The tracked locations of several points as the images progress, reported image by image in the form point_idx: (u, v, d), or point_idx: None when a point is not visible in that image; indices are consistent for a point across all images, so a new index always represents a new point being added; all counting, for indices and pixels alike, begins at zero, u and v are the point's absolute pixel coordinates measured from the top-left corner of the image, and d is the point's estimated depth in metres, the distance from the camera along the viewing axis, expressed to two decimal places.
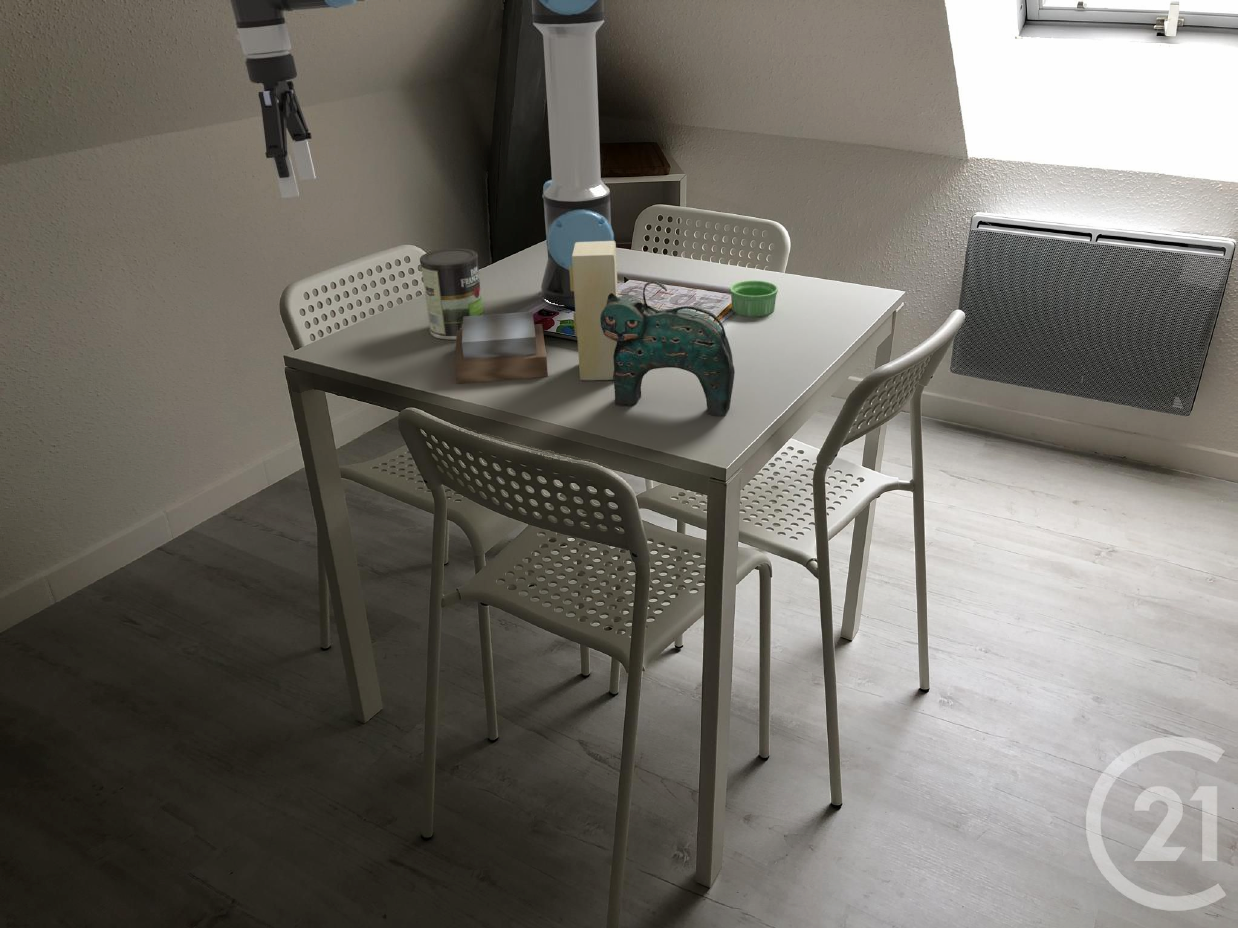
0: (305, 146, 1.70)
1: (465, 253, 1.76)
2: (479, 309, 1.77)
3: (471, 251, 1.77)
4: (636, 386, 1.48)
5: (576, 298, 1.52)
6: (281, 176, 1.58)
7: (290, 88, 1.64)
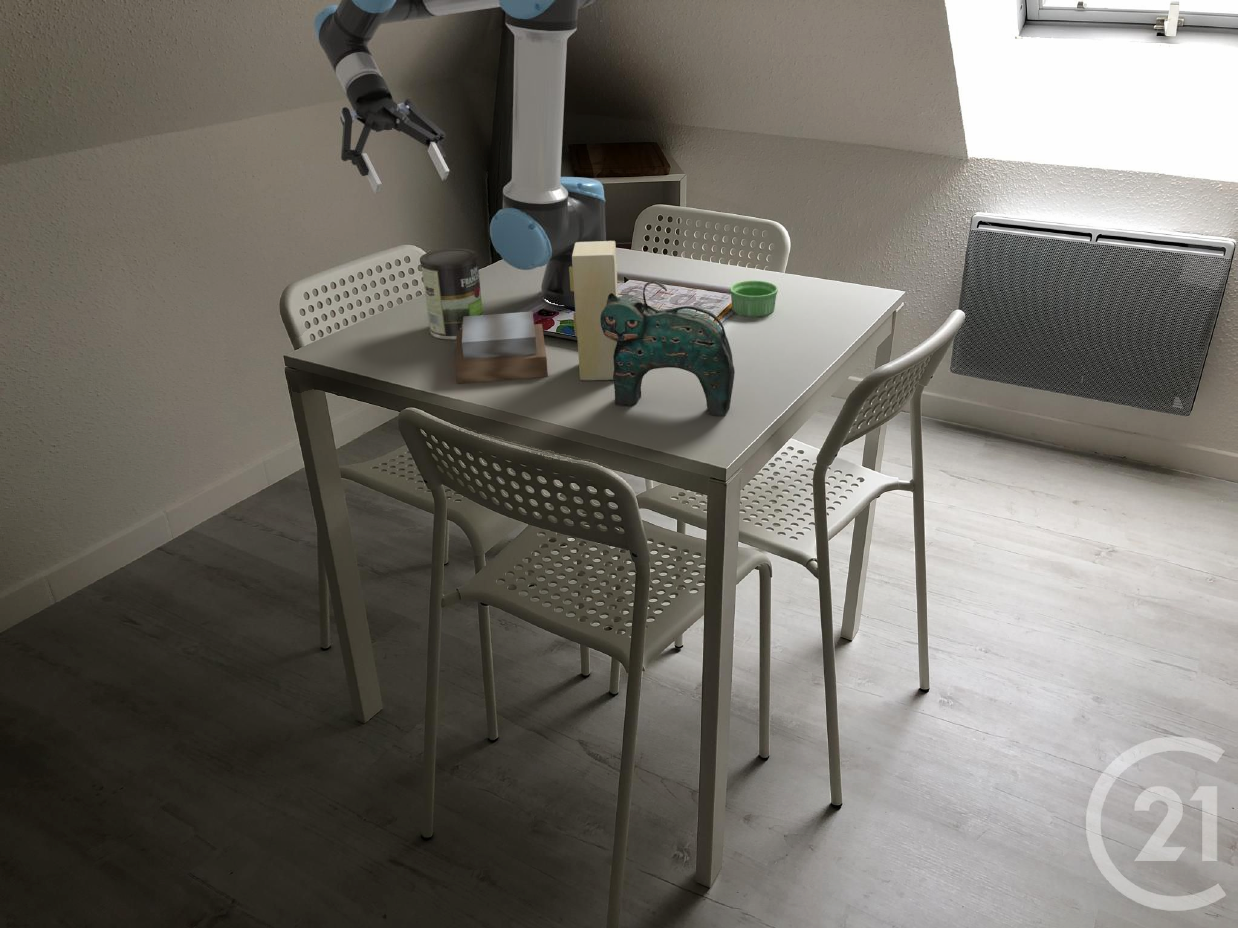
0: (432, 147, 1.79)
1: (465, 253, 1.76)
2: (479, 309, 1.77)
3: (471, 251, 1.77)
4: (636, 386, 1.48)
5: (576, 298, 1.52)
6: (361, 173, 1.73)
7: (406, 105, 1.80)
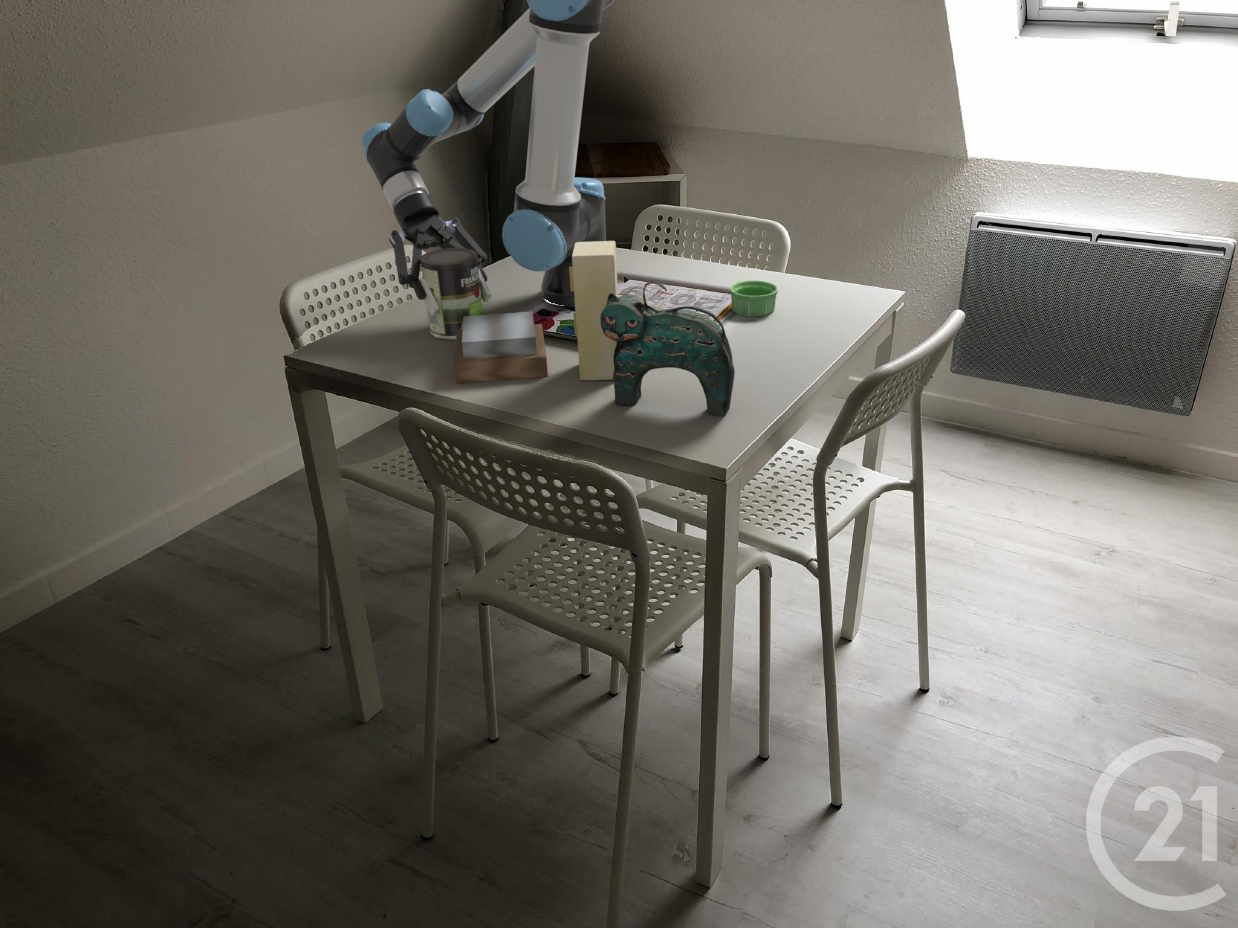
0: None
1: (465, 253, 1.76)
2: (479, 309, 1.77)
3: (471, 251, 1.76)
4: (636, 386, 1.48)
5: (576, 298, 1.52)
6: (419, 298, 1.74)
7: (453, 223, 1.81)
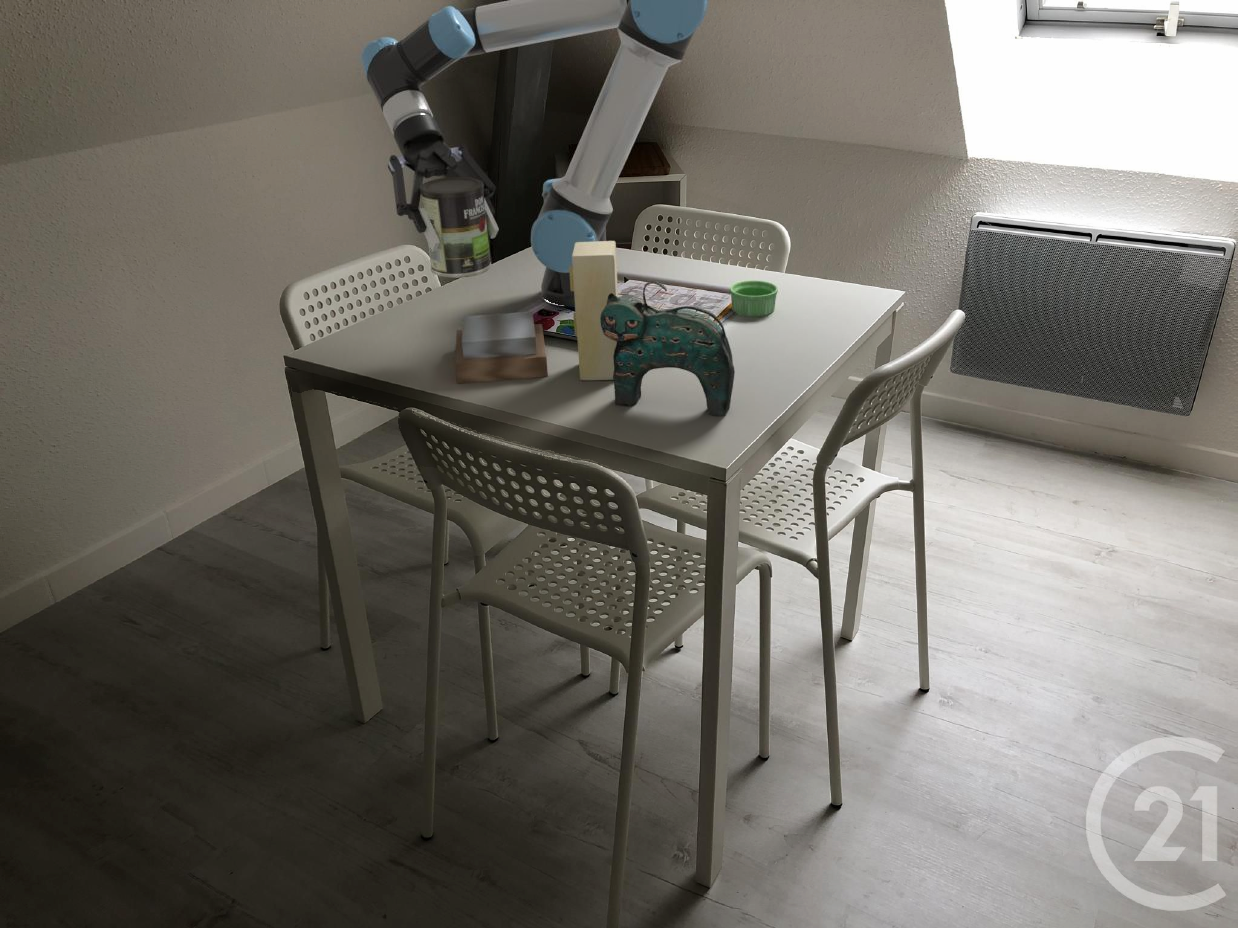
0: None
1: (470, 182, 1.59)
2: (484, 244, 1.61)
3: (477, 180, 1.60)
4: (636, 386, 1.48)
5: (576, 298, 1.52)
6: (418, 230, 1.58)
7: (459, 150, 1.64)
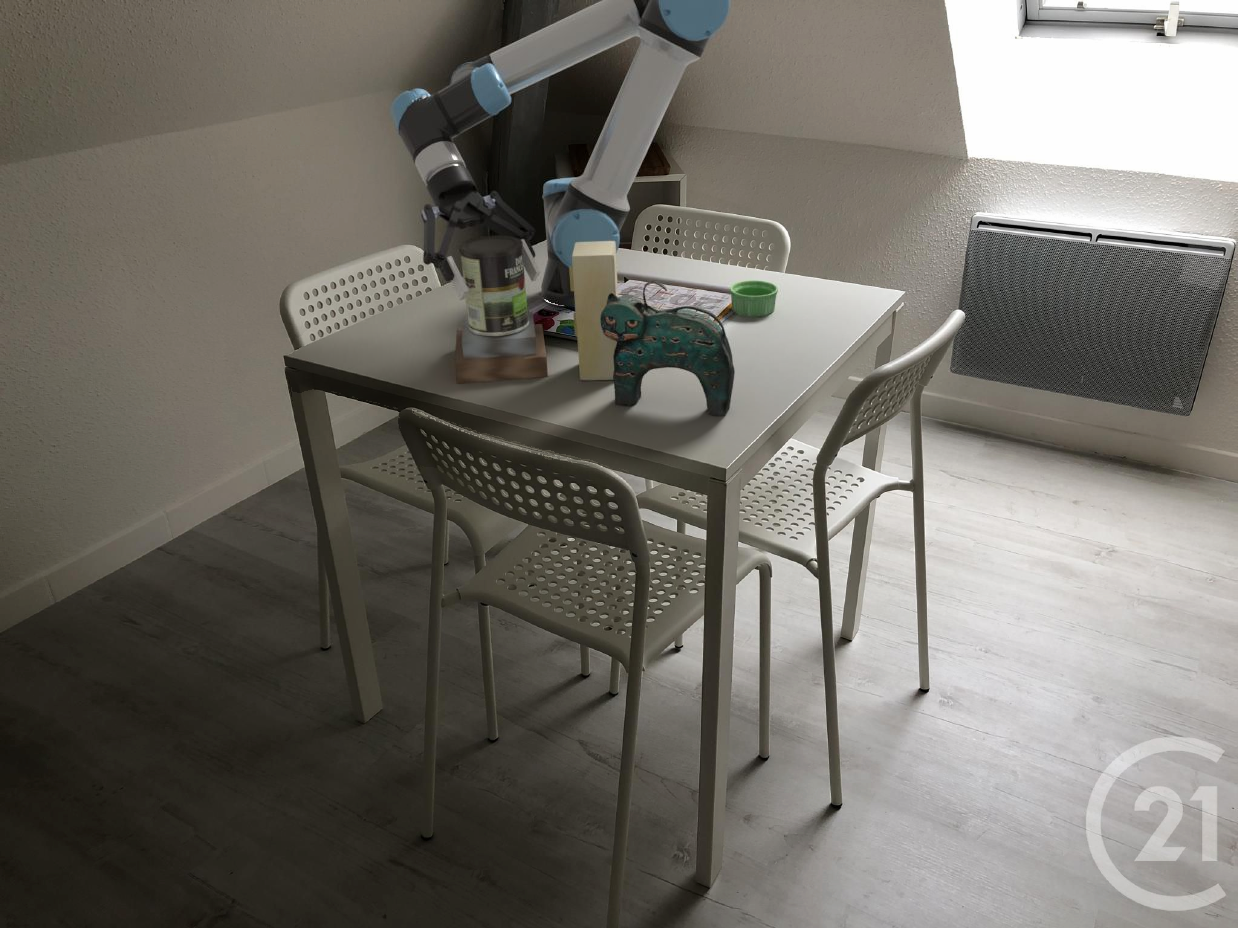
0: None
1: (509, 240, 1.59)
2: (523, 302, 1.60)
3: (515, 238, 1.60)
4: (636, 386, 1.48)
5: (576, 298, 1.52)
6: (446, 279, 1.55)
7: (492, 198, 1.63)
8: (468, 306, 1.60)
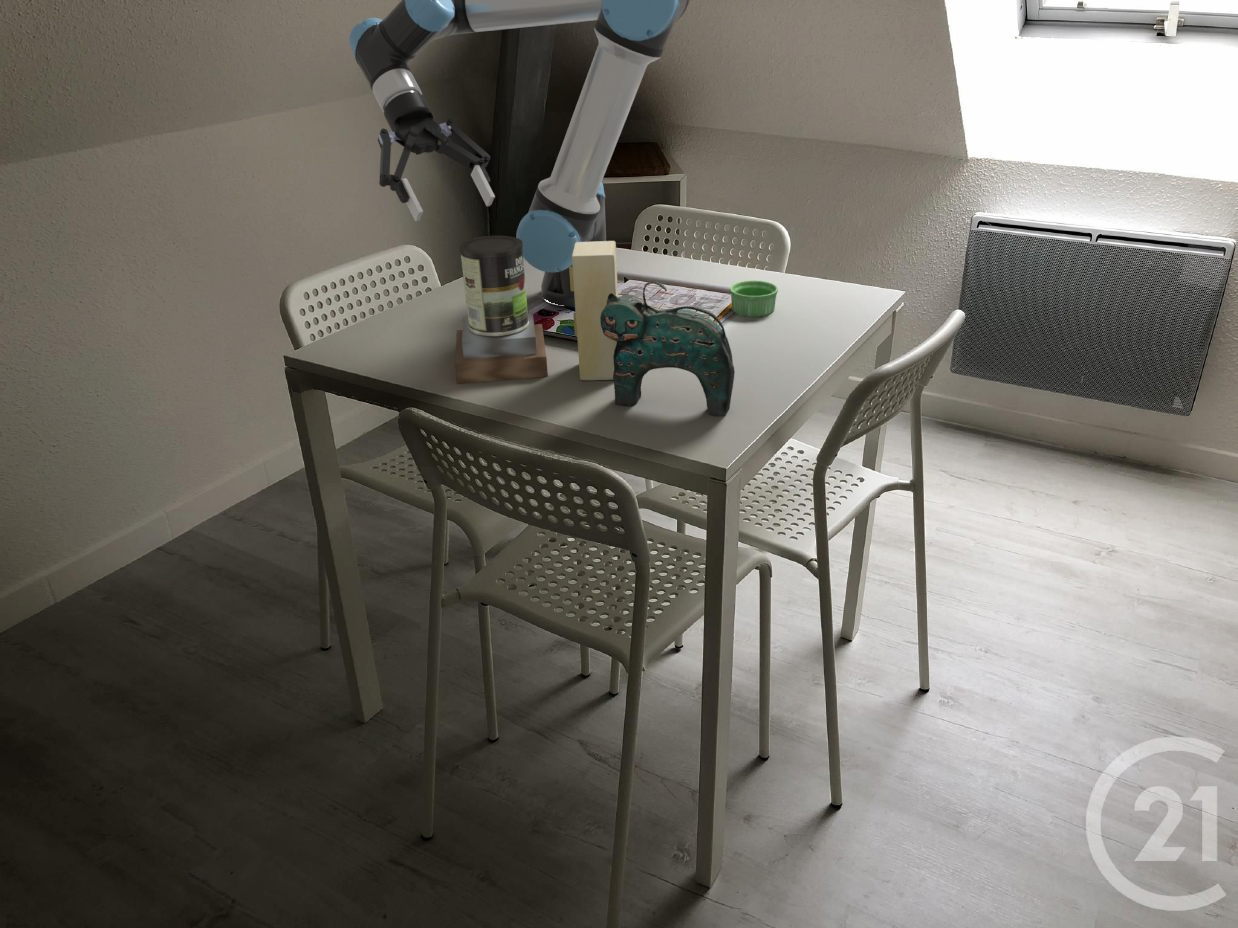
0: (476, 171, 1.66)
1: (509, 241, 1.59)
2: (523, 302, 1.60)
3: (515, 239, 1.60)
4: (636, 386, 1.48)
5: (576, 298, 1.52)
6: (401, 200, 1.59)
7: (448, 125, 1.67)
8: (468, 306, 1.60)
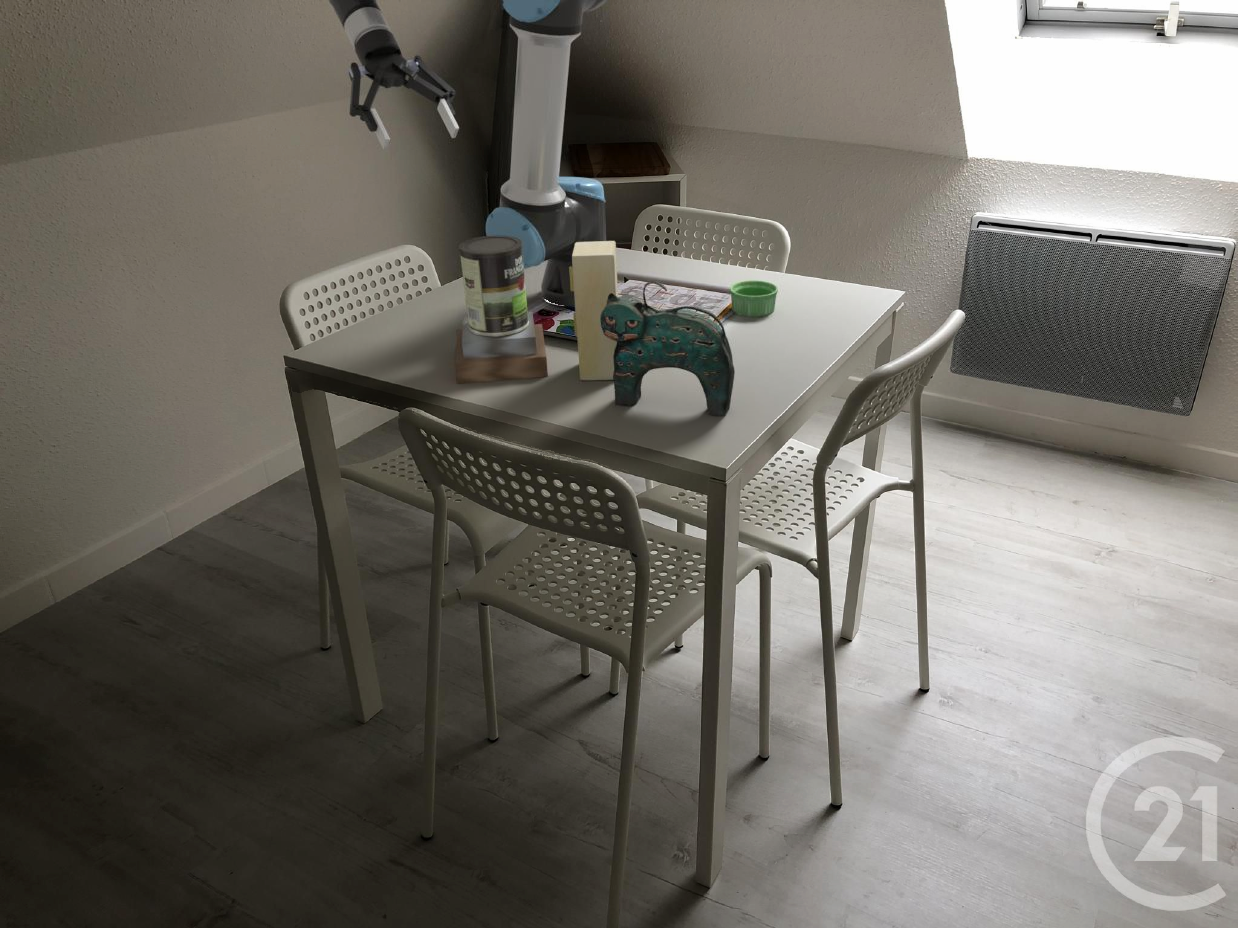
0: (442, 104, 1.77)
1: (509, 241, 1.59)
2: (523, 303, 1.60)
3: (515, 239, 1.59)
4: (636, 386, 1.48)
5: (576, 298, 1.52)
6: (370, 129, 1.70)
7: (416, 61, 1.78)
8: (468, 306, 1.60)
